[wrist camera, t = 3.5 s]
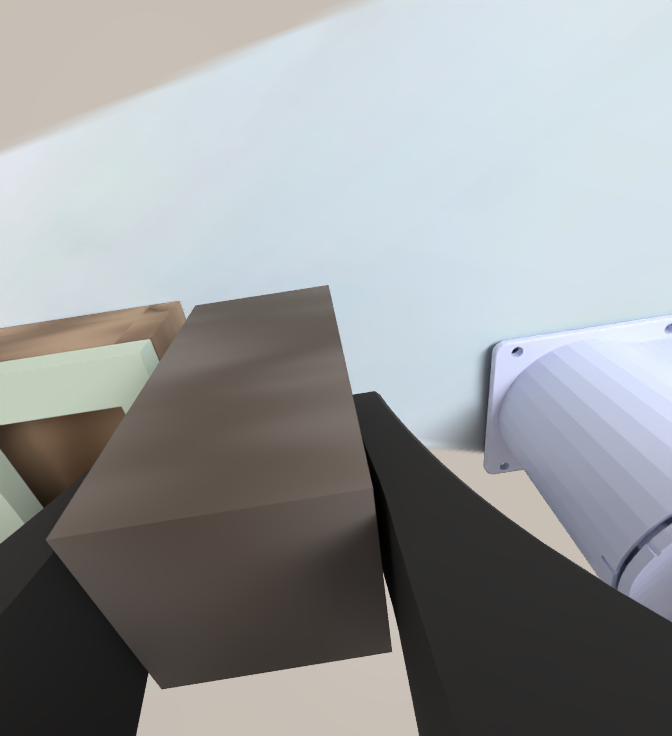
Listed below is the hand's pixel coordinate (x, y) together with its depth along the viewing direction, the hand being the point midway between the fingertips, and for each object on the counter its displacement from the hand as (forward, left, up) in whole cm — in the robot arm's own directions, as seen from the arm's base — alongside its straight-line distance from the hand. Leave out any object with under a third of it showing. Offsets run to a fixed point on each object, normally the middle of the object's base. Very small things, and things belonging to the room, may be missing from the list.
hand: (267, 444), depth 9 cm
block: (0, 0, -4) cm, 4 cm away
